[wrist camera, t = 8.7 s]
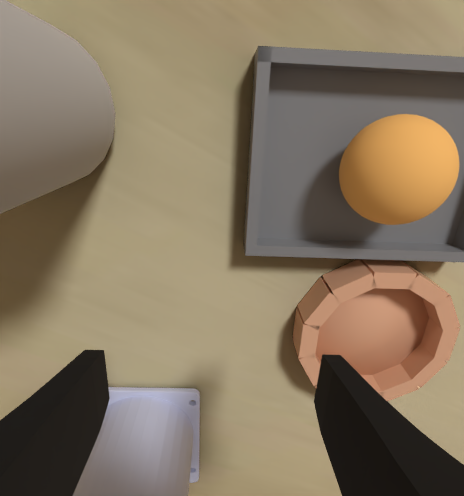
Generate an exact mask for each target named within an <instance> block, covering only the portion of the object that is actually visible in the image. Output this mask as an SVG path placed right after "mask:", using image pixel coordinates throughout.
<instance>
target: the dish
mask: <svg viewBox="0 0 464 496" xmlns="http://www.w3.org/2000/svg"><path fill="white" fill-rule="evenodd" d="M322 276H323V278H321V277H320V278H319V279H318V280H317V282H316V283H315V284H314V285H313V287H312V288H311V289H310V290H309V291H308V293H307V294H306V295H305V296H304V298H303V299H302V300H301V301H300V303H299V304H298V307H296V315H295V322H294V330H293V337H292V338H293V342H294V345H295V349H296V352H297V355H298V358H299V361H300V363H301V364H302V366H303V368H304V370H305V372H306V373H307V375H308V377H309V379H310V381H311V382H312V384H313V386H315V388H316V387H317V382H318V376H319V370H320V365H321V359H322V354H325V355H341V356H342V357H343V358H344V359H345V360H346V361H347V362H348V363H349V364H350V365H351V366H352V367H353V368H354V369H355V370H356V371H357V372H358V373H359V374H360V375H361V376H362V377H363V378H364V379H365V380H366V381H367V382H368V383H369V384H370V385H371V386H372V387H373V388H374V389H375V390H376V391H377V392H378V393H379V394H380V395H381V396H382V397H383V398H384V399H385V400H386V401H389V400H392V399H394V398H397V397H400V396H402V395H405V394H407V393H410V392H413V391H415V390H418V386H419V387H420V388H421V387H422V386H423V385H424V384H425V383H426V382H428V381H429V380H430V379H431V378H432V377H433V376H434V375H435V374H436V373H437V372H438V371H439V370H440V369H441V368H442V367H443V366H445V365H446V364H447V362H446V361H449V359H450V356H451V353H452V350H453V348H454V345H455V342H456V339H457V336H458V333H459V330H460V328H459V327H460V324H459V321H458V318H457V315H456V312H455V308H454V305H453V302H452V299H451V296H450V295H449V294H448V293H447V292H446V291H445V290H443V289H442V288H441V287H440V286H438V285H437V284H436V283H434V282H433V281H432V280H431V279H429V278H428V277H426V276H425V275H423V274H422V273H420V272H419V271H417V270H416V269H414V268H413V267H411V266H410V265H408V264H407V263H405V262H404V261H402V260H375V259H361V261H360V260H359V259H357V260H355V261H353V262H350V263H348V264H346V265H344V266H342V267H339V268H337V269H335V270H333V271H331V272H329V273H326V274H324V275H322Z"/></svg>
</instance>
